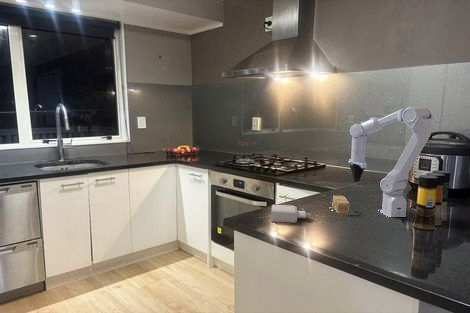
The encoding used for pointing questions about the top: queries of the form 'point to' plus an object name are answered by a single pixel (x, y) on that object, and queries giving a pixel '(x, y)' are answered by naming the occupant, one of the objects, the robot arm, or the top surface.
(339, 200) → the oak block
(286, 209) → the white bottle
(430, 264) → the top surface
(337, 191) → the top surface
